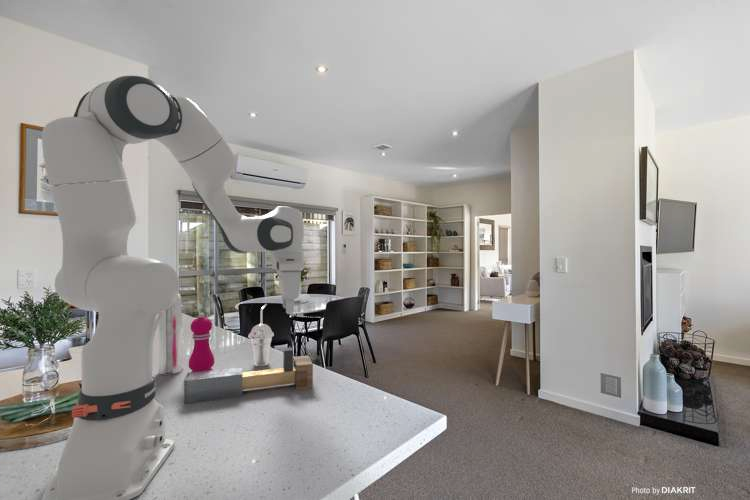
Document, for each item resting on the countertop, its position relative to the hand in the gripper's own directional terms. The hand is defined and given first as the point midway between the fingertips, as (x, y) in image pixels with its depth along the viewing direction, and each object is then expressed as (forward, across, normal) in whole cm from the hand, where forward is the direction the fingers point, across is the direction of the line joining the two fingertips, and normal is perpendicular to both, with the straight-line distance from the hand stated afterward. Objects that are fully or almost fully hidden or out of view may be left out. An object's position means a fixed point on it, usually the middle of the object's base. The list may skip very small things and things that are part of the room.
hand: (287, 310), depth 102 cm
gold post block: (+21, 0, -5) cm, 22 cm away
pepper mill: (+22, -16, -24) cm, 37 cm away
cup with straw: (+22, -22, -6) cm, 32 cm away
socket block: (+22, 0, +4) cm, 22 cm away
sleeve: (+22, 0, -19) cm, 29 cm away
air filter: (+22, -24, -34) cm, 47 cm away
